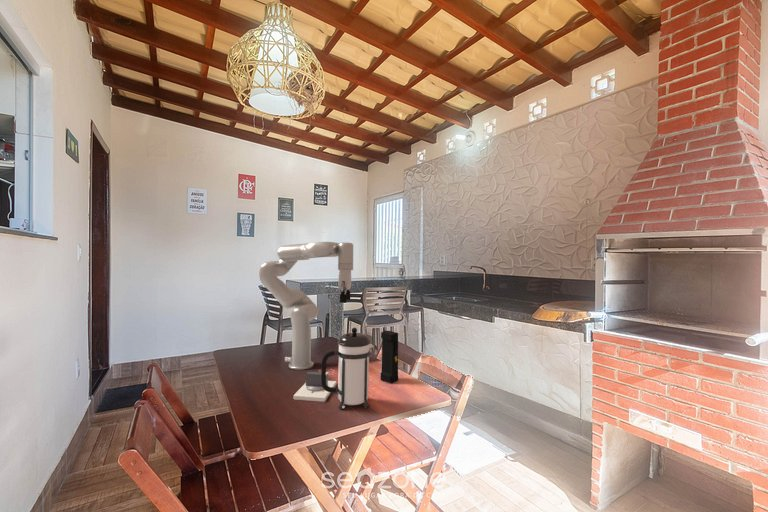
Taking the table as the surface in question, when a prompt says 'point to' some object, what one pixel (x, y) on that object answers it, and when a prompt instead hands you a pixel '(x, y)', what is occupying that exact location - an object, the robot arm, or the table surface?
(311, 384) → the dial
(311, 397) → the dial panel
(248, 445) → the table surface
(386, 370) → the portable radio
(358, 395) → the coffee press
